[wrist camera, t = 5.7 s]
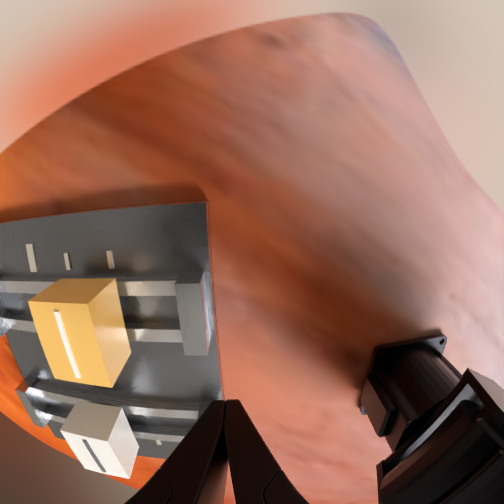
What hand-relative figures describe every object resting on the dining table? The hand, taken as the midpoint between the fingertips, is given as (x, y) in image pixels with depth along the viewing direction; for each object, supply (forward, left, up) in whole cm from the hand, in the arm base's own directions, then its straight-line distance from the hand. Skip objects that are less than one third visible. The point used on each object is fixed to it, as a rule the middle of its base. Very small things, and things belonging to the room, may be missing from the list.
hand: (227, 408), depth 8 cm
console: (+10, +4, -9) cm, 14 cm away
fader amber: (+8, 0, -8) cm, 11 cm away
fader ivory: (+9, +9, -8) cm, 15 cm away
